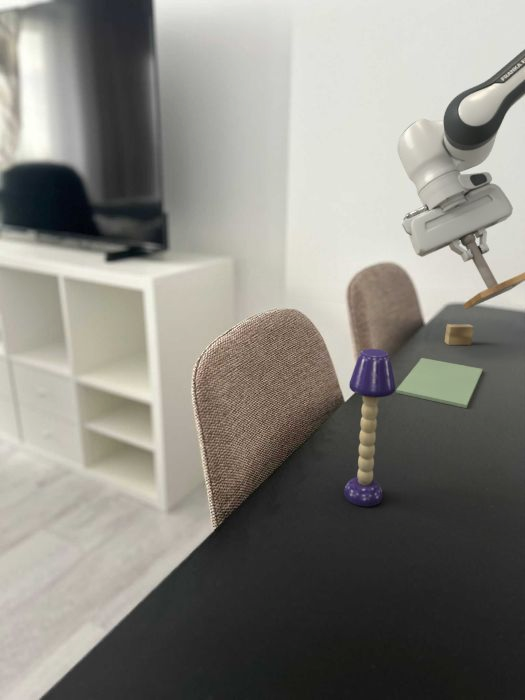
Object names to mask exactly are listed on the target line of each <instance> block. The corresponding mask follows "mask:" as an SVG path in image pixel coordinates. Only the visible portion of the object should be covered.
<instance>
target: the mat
mask: <svg viewBox="0 0 525 700" xmlns="http://www.w3.org/2000/svg"><path fill="white" fill-rule="evenodd" d="M483 370H484V369H483V368H479V367H473V366H468V365H462V364H457V363H453V362H446V361H440V360H435V359H430V358H424V357H421V358H420V359H419V361H417V363H416V364H415V366H414V367H413V368H412V369H411V371H410V372H409V373H408V375H406V377H405V378H404V379H403V381H402V382H401V383H400V384H399V385H398V386H397V388H395V394H401V395H404V396H409V397H414V398H417V399H422V400H427V401H432V402H435V403H441V404H445V405H450V406H454V407H459V408H463V409H467V408H468V406H469V403H470V402H471V400H472V397H473V395H474V393H475V390H476V388H477V385H478V382H479V380H480V379H481V377H482V373H483Z"/></svg>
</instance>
